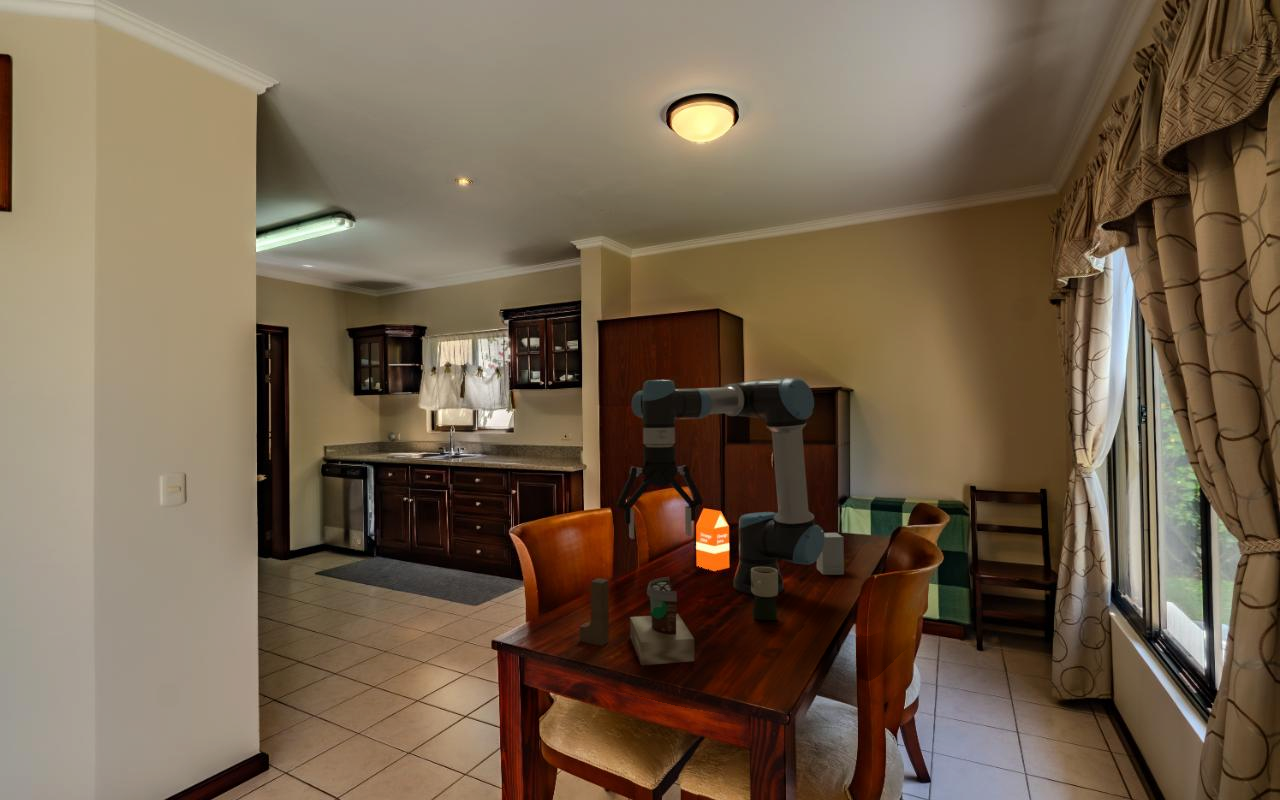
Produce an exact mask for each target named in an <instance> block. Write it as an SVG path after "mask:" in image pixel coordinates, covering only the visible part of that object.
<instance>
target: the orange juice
mask: <svg viewBox="0 0 1280 800" xmlns="http://www.w3.org/2000/svg"><path fill="white" fill-rule="evenodd" d="M695 525H696V526H695V528H696V529H695V531H696V533H695V534H696V535H695V537H696V538H695V539H696V542H695V544H696V545H695V549H696V551H695V552H696V567H698V566H699V567H698V568H701V567H702V569H705V570H708V569H709V571H713V572H716V571H717V570H718V571H721V570H725V569H729V568H730V525H729V524H728V522H727V520H726V518H725V516H724V514H723V513H722V511H721V510H716V509H710V508H703V509H702V511H701V513H700V515H699V518H698V520H697V522H696V524H695Z"/></svg>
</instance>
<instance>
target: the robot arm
mask: <svg viewBox="0 0 1280 800" xmlns="http://www.w3.org/2000/svg"><path fill="white" fill-rule="evenodd" d="M642 385H643V386H642V390H639V391H637V392H636V393H634V394H633V396H632V399H631V410H632V413H633V414H634V416H636V417H637V418H640V419H642V425H643V426H642V441H643V443H642V444H644V445H645V446H644V447H643V450H642V451H643V452H642V453H643V459H642V460H643V463H642V467H635V466H632V465H631V466H630V468H629V474H628V477H627V480H626V482H625V484H624V486H623V488H622V491H621V493H620V495H619V497H618V499H617V501H616V506H617V507H618V508H619V509H623V512H624V523H625V524H627V525H628V536H629V539H631V540H634V539H635V513H634V512H635V510H634V509H633V506H634V505H635V503H637V501H638V500H639V499H640V497H641V496H642V495H643V494H644V492H645V491H646V490H647V489H648V488H649V487H650V485H651V486H653V487H657V486H662V487H663V486H664V487H665V486H668V485H669V484H670V485H671V486H672V487H673V488H674V490H675V491H676V492H677V493H678V495H679V496H680V497H681V498H682V499H683V501H685V502H686V504H687V505H686V506H684V507H685V508H684V513H685V514H684V515H685V516H684V517H685V518H684V519H685V521H684V523H685V529H684V530H685V535H687V536H688V537H691V536H692V522H694V521H696V508H697V506H700V505H702V504H704V501H703V498H702V497H701V494H700V492H699V491H698V488H697V487H696V484H695V482H694V481H693V478H692V477H691V473H690V467H689V466H688V465H686V464H683V465H682V466H681V465H679V466H677V464H676V447H675V446H674V444H676V432H675V431H676V420H698V419H699V420H700V419H705V418H706V417H708V416H709V415H718V414H719V415H720V414H725V415H727V416H729V417H746V418H755V419H764V420H765V427H766V428H767V429H768V430H769V431H770V432H771V439H772V441H771V442H772V450H773V451H772V453H773V463H774V475H775V476H774V477H775V488H776V499H777V510H778V511H777V512H773V511H763V512H751V513H746V514H742V515H741V516H740V517H739V520H738V529H737V530H738V561H739V562H738V565H737V567H736V571H735V573H734V574H735V575H734V577H733V588H734V589H735V590H737V591H738V592H741V593H744V594H749V595H754V594H753V593H752V592H751V569H752V568H754V567H771V568H775V569H777V570H778V594H779V593H781V592H783V591H784V580H783V577H782V574H781V571H780V568H779V565H778V560H782V561H785V562H790V563H793V564H795V565H806V566H807V565H808V566H809V565H812V564H814V563H815V562H817V559H818V558H819V556H820V554H821V552H822V550H823V547H824V540H825V536H824V533H825V532H824V530H823V528H822V527H821V526H820V525H818V524H816V523H815V514H813V513H812V512H810V510H809V504H808V503H809V502H808V501H809V500H808V488H807V477H806V476H807V475H806V463H805V452H804V450H805V449H804V439H803V429H804V428H805V426H806V425H807V424H808V421H807V420H808V419H809V418H810V417H811V416H812V414H813V413H814V411H813V410H814V408H815V398H814V394H813V391H812V389H811V386H809V385H808V384H807V383H806V381H804V380H803V379H801V378H794V377H782V378H769V379H767V378H765V379H753V380H748V381H742V382H737V383H736V382H735V383H727V384H726V385H724V386H723V387H700V388H698V387H697V388H676V386H675V382H674V380H671V379H652V380H651V379H648V380H646V381H645V382H644V383H643V384H642ZM678 472H679V474H680V475H681V476H683V479H684V481H685V483H686V485H687V487H688V489H689V491H690V493H691V495H692V497H693V498H694V499H692V498H691V497H690V496H689V494H688V493H687V492H686V491H685V490H684V489H683V487H682V486H681V485H680V484H679V483H678V482H677V480H676V479H675V477H676V475H677V473H678ZM640 474H642V475H643V476H644V479H643V480H642V481H641V482H640V485H638V487H637V489H635V490H634V492H633V493H632V494H631V496H630V497H629V498H628V496H629V494H630V492H631V489H632V487H633V485H634V483H635V481H636V479H637V477H639V476H640Z"/></svg>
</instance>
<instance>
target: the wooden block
mask: <svg viewBox="0 0 1280 800" xmlns="http://www.w3.org/2000/svg"><path fill="white" fill-rule="evenodd" d="M609 581H610V580H609V579H605V578H599V577H598V578H595V579H593V580H592V581H590V622H585V623H583V624H582V625H579V629H578V631H579V632H578V634H579V637H578V638H579V643H585V644H589V645H595V646H599V647H604V646H605V645H606V644H608V643H609V642H610V624H609V622H610V619H609V617H610V615H609V613H610V605H609V603H610V601H609V599H610V598H609V596H610V595H609V593H610V591H609V587H610V586H609V585H610V584H609Z"/></svg>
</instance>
